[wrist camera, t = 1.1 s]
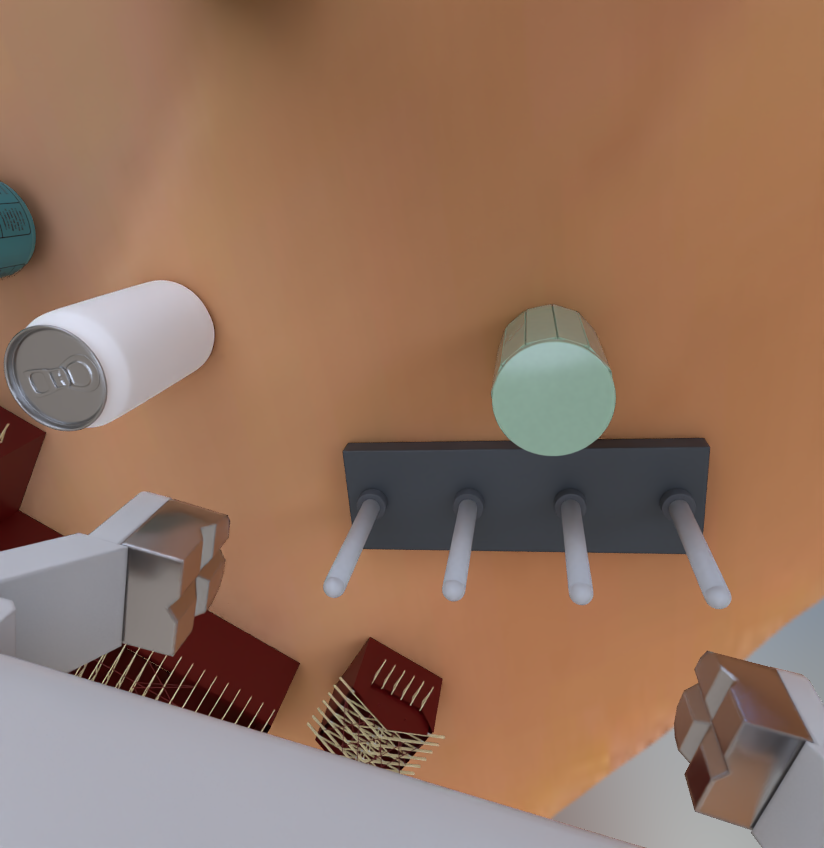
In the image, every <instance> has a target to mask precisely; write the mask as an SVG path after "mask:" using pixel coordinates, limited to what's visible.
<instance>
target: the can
mask: <svg viewBox="0 0 824 848" xmlns="http://www.w3.org/2000/svg"><path fill="white" fill-rule="evenodd" d="M213 344H214V326H213V322H212V319H211V317H210V315H209V313H208V311H207V309H206V307H205V306H204V304H203V303H202V301H201V300H200V299H199V298H198V297H197V296H196V295H195V294H194V293H193V292H192V291H191V290H189V289H188V288H186V287H184V286H182V285H180V284H178V283H175V282H172V281H166V280H156V281H150V282H146V283H143V284H139V285H136V286H132V287H129V288H125V289H122V290H119V291H115V292H112V293H108V294H105V295H102V296H98V297H95V298H92V299H89V300H85V301H82V302H79V303H75V304H72V305H69V306H66V307H62V308H59V309H56V310H53V311H50V312H48V313H45V314H43V315H41V316H39V317H37V318H36V319H34V320H33V321H32V322H31V323H30V324H29V325H28V326H27V327H26V328H25V329H23V330H22V331H20V332H19V333H17V334H16V335H15V336H14V337H13V338H12V340H11V341H10V343H9V345H8V347H7V349H6V352H5V357H4V373H5V378H6V382H7V385H8V387H9V389H10V392H11V394H12V395H13V397H14V399H15V400H16V402H17V403H18V404H19V406H20V407H21V408H22V409H23V410H24V411H25V412H26V413H27V414H28V415H29V416H30V417H32V418H33V419H34V420H36V421H37V422H39V423H41V424H42V425H44V426H47V427H49V428H52V429H55V430H60V431H76V430H81V429H84V428H92V427H98V426H102V425H105V424H107V423H109V422H112V421H113V420H115V419H117V418H119V417H121V416H122V415H124V414H126V413H127V412H129V411H131V410H132V409H134V408H136V407H137V406H139V405H141V404H142V403H144V402H146V401H147V400H149V399H150V398H152V397H154V396H155V395H157V394H159V393H160V392H162V391H164V390H165V389H167V388H168V387H170V386H172V385H173V384H175V383H177V382H178V381H180V380H181V379H183V378H185V377H186V376H188V375H189V374H191V373H193V372H194V371H196V370H197V369H198V368H200V367H201V366H202V365H203V364H204V363H205V362H206V361H207V359H208V358H209V356H210V354H211V351H212V348H213Z"/></svg>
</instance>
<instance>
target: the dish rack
mask: <svg viewBox="0 0 824 848" xmlns="http://www.w3.org/2000/svg"><path fill="white" fill-rule="evenodd" d="M709 454H710V446H709V445H708V443H707V442H706V440H705V439H704V438H675V439H603V440H595V441H594V442H593V443H592V444H590V445H589V446H587V447H586V448H584V449H582V450H580V451H577V452H574V453H571V454H567V455H561V456H544V455H538V454H535V453H531V452H529V451H526V450H524V449H522V448H520V447H519V446H517V445H516V444H514V443H513V442H512V441H459V442H387V443H348V444H347V446H346V447H345V449H344V450H343V459H344V466H345V474H346V482H347V490H348V498H349V506H350V514H351V521H352V527H351V529H350V531H349V533H348V535H347V537H346V539H345V541H344V543H343V545H342V547H341V549H340V551H339V553H338V555H337V557H336V559H335V561H334V563H333V565H332V567H331V569H330V571H329V573H328V575H327V577H326V579H325V581H324V585H323V589H324V592H325V593H326V595H328V596H329V597H332V598H336V597H339V596H341V595H342V594H343V593H344V591H345V589H346V586H347V584H348V582H349V579H350V577H351V575H352V572H353V570H354V568H355V565H356V563H357V561H358V559H359V556H360V554H361V552H362V549H399V550H450V552H449V557H448V562H447V567H446V572H445V577H444V582H443V587H442V592H443V595H444V596H445V598H446V599H448V600H450V601H458V600H460V599H461V598H462V597H463V596H464V593H465V588H466V581H467V575H468V568H469V561H470V554H471V551H527V552H565V556H566V567H567V577H568V588H569V596H570V598H571V600H572V601H573V602H574V603H576V604H578V605H585V604H588V603H589V602H590V601H591V600H592V598H593V587H592V581H591V574H590V567H589V561H588V554H587V552H591V553H655V554H687V556H688V559H689V561H690V564H691V566H692V569H693V571H694V574H695V576H696V578H697V581H698V583H699V586H700V588H701V591H702V593H703V596H704V598H705V600H706V602H707V604H708V605H709V606H711V607H713V608H715V609H723V608H725V607H727V606H728V605H729V604H730V602H731V594H730V591H729V589H728V587H727V585H726V583H725V581H724V579H723V577H722V574H721V572H720V570H719V568H718V566H717V564H716V562H715V560H714V558H713V555H712V553H711V551H710V549H709V547H708V545H707V543H706V541H705V539H704V536H703V528H704V516H705V504H706V491H707V479H708V467H709Z"/></svg>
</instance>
